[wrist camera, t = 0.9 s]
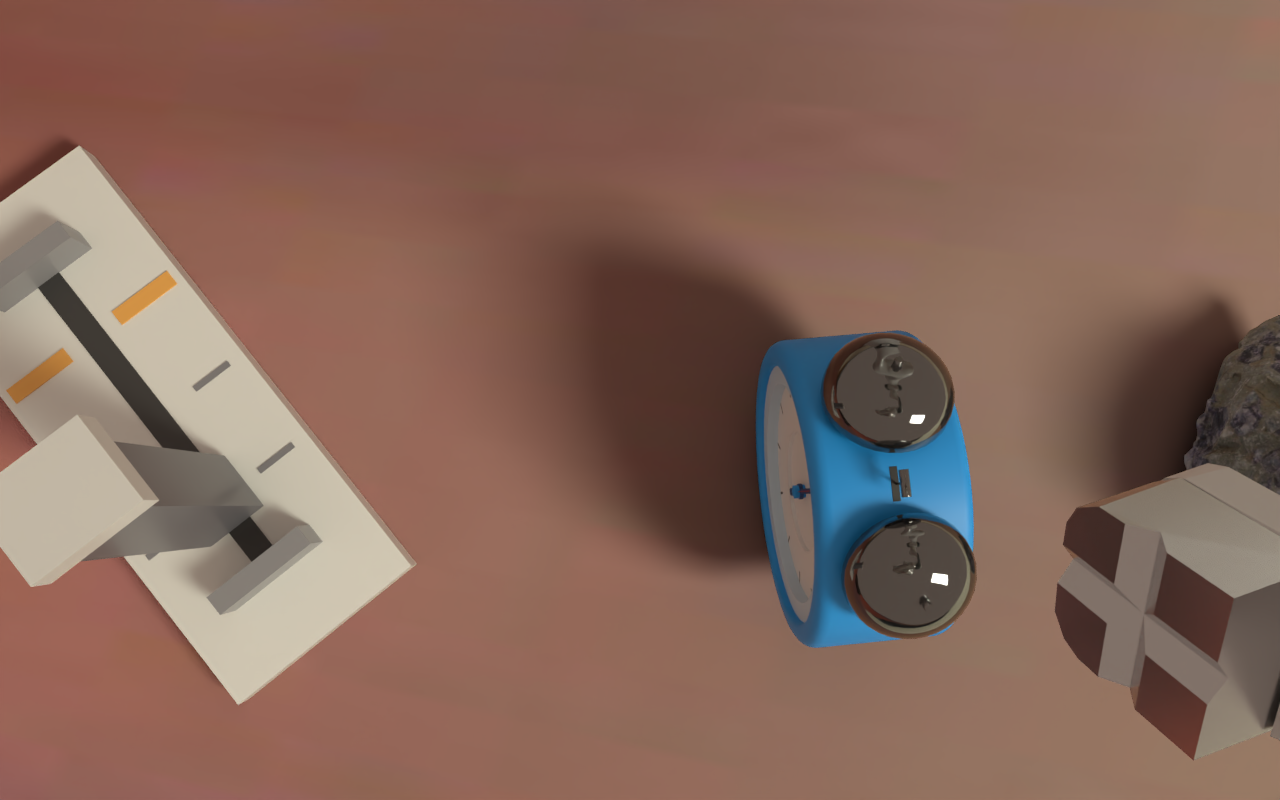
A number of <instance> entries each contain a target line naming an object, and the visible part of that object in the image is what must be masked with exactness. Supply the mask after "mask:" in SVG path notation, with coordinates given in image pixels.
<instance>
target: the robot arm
mask: <svg viewBox="0 0 1280 800" xmlns="http://www.w3.org/2000/svg"><path fill="white" fill-rule="evenodd" d="M1063 545H1064V547H1065V548H1066V549H1067V551H1068V552H1069V554H1070V555H1071V556H1072V558H1073V560H1072V562H1071V563H1070V565H1069V566H1068V568H1067V569H1066V571H1065V572H1064V574H1063V575H1062V577H1061V578H1060V580H1059V581H1058V584H1057V595H1056V606H1055V613H1056V616H1057V619H1058V622H1059V625H1060V628H1061V631H1062V634H1063V637H1064V639H1065V640H1066V642H1067V643H1068V645H1069V646H1070V648H1071V649H1072V651H1073V652H1074V653H1075V655H1076V656H1077V658H1078V659H1079V660H1080V661H1081V662H1083V663H1084V664H1085V665H1086V666H1087V667H1088V668H1089V669H1090V670H1091V671H1092V672H1094V673H1095V674H1096V675H1097V676H1098V677H1101V678H1104V679H1107V680H1109V681H1112V682H1115V683H1118V684H1121V685H1124V686H1127V687H1130V691H1131V695H1132V699H1133V703H1134V708H1135V710H1136V711H1138V712H1139V713H1140V714H1141V715H1142V716H1143V717H1144V718H1146V719H1147V720H1148V721H1149V722H1150V723H1151V724H1152V725H1154V726H1155V727H1156V728H1157V729H1158V730H1159V731H1160V732H1162V733H1163V734H1164V735H1165V736H1166V737H1167V738H1168V739H1170V740H1171V741H1172V742H1173V743H1174V744H1175V745H1176V746H1178V747H1179V748H1180V749H1181V750H1182V751H1183V752H1184V753H1186V754H1187V755H1188V756H1189V757H1190V758H1191V759H1192V760H1196V759H1199V758H1201V757H1204V756H1206V755H1209V754H1212V753H1214V752H1217V751H1219V750H1222V749H1224V748H1227V747H1230V746H1232V745H1235V744H1237V743H1240V742H1243V741H1245V740H1248V739H1250V738H1253V737H1256V736H1258V735H1261V734H1263V733H1266V732H1268V731H1271V730H1272V731H1271V735H1270V736H1271V737H1273V738H1276V739H1278V740H1280V495H1278V494H1277V493H1275V492H1273V491H1271V490H1269V489H1268V488H1266V487H1264V486H1262V485H1260V484H1259V483H1257V482H1255V481H1253V480H1251V479H1249V478H1248V477H1246V476H1244V475H1242V474H1240V473H1239V472H1237V471H1235V470H1233V469H1231V468H1230V467H1226V466H1220V465H1215V464H1210V463H1207V464H1204V465H1201V466H1198V467H1195V468H1192V469H1189V470H1186V471H1183V472H1181V473H1178V474H1175V475H1172V476H1169V477H1166V478H1164V479H1163V480H1161V481H1156V482H1152V483H1149V484H1146V485H1143V486H1140V487H1137V488H1134V489H1131V490H1128V491H1125V492H1122V493H1119V494H1116V495H1113V496H1110V497H1107V498H1104V499H1102V500H1099V501H1096V502H1093V503H1090V504H1087V505H1084V506H1081V507H1078V508H1076V510H1075V511H1074V513H1073V514H1072V516H1071V517H1070V518H1069V520H1068V521H1067V524H1066V530H1065V536H1064V542H1063Z"/></svg>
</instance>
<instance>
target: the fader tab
mask: <svg viewBox="0 0 1280 800" xmlns="http://www.w3.org/2000/svg"><path fill="white" fill-rule="evenodd" d="M263 506H264V505H263V504H262V503H261V501H260V500H259V499H258V498H257V496H256V495H255V494H254V492H253V491H252V490H251V489H250V487H249V486H248V485H247V483H246V482H245V481H244V480H243V478H242V477H241V476H240V475H239V473H238V472H237V471H236V469H235V468H234V467H233V466H232V464H231V463H230V462H229V460H228V459H227V458H226V457H225V456H224V455H216V454H208V453H200V452H193V451H185V450H177V449H169V448H161V447H154V446H146V445H138V444H130V443H123V442H115V441H113V440H112V439H111V437H110V436H109V435H108V433H107V432H106V431H105V430H104V428H103V427H102V426H101V424H100V423H99V422H98V420H97V419H96V418H94V417H88V416H82V415H76V416H75V417H73V418H72V419H71V420H69V421H68V422H67V423H65V424H64V425H63V426H61V427H60V428H59V429H57V430H56V431H55V432H53V433H52V434H51V435H49V436H48V437H47V438H45V439H44V440H43V441H41V442H40V443H39V444H37V445H36V446H35V447H33V448H32V449H31V450H30V451H28V452H27V453H26V454H24V455H23V456H22V457H20V458H19V459H18V460H16V461H15V462H14V463H12V464H11V465H10V466H8V467H7V468H6V469H4V470H3V471H2V472H0V547H1V548H2V550H3V551H4V552H5V554H6V555H7V556H8V557H9V559H10V560H11V561H12V563H13V564H14V565H15V567H16V568H17V569H18V571H19V572H20V573H21V575H22V576H23V577H24V578H25V580H26V581H27V582H28V584H29V585H30V586H31V587H33V586H40V585H46V584H51V583H53V582H54V581H55V580H57V579H58V578H59V577H61V576H62V575H63V574H64V573H66V572H67V571H68V570H70V569H71V568H72V567H73V566H75V565H76V564H77V563H79V562H80V561H88V560H97V559H106V558H115V557H124V556H133V555H142V554H150V553H159V552H168V551H177V550H186V549H195V548H204V547H211V546H213V545H214V544H215V543H217V542H218V541H219V540H220V539H222V538H223V537H224V536H226V535H227V534H228V533H229V532H231V531H232V530H233V529H235V528H236V527H237V526H238V525H240V524H241V523H242V522H243V521H245V520H246V519H247V518H249V517H250V516H251V515H252V514H254V513H255V512H256V511H258V510H259V509H260V508H261V507H263Z"/></svg>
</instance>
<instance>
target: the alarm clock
mask: <svg viewBox="0 0 1280 800" xmlns="http://www.w3.org/2000/svg"><path fill="white" fill-rule="evenodd" d="M954 403H955V391H954V386H953V382H952V378H951V375H950V373H949V371H948V368H947V367H946V365H945V364H944V362H943V361H942V360H941V358H940V357H939V356H938V355H937V354H936V353H935V352H934V351H933V350H932V349H930V348H929V347H928V346H926V345H925V344H923V343H922V342H921V341H920V340H919V339H918V338H917V337H915V336H913V335H912V334H910V333H908V332H904V331H887V332H875V333H863V334H852V335H840V336H828V337H817V338H805V339H793V340H782V341H779V342H776V343H775V344H773V345H772V346H771V347H770V348H769V349H768V351H767V353H766V355H765V357H764V359H763V362H762V365H761V369H760V374H759V380H758V388H757V401H756V453H757V470H758V483H759V493H760V502H761V510H762V518H763V525H764V532H765V538H766V544H767V549H768V555H769V560H770V565H771V569H772V574H773V578H774V582H775V586H776V590H777V593H778V597H779V600H780V604H781V607H782V610H783V612H784V615H785V618H786V620H787V622H788V624H789V626H790V628H791V630H792V632H793V633H794V635H795V636H796V637H797V638H798V640H799V641H800V642H802V643H803V644H805V645H807V646H809V647H814V648H819V647H828V646H838V645H848V644H858V643H868V642H877V641H887V640H897V639H917V638H922V637H927V636H935V635H938V634H941V633H943V632H945V631H946V630H947V629H948V628H949V627H950V626H951V625H952V624H953V623H954V622H955V621H956V620H957V619H958V618H959V617H960V616H961V615H962V613H963V612H964V610H965V609H966V607H967V606H968V604H969V603H970V601H971V598H972V596H973V594H974V591H975V586H976V581H977V572H976V561H975V558H974V554H973V531H974V524H973V502H972V489H971V480H970V472H969V465H968V459H967V453H966V448H965V443H964V438H963V433H962V429H961V425H960V421H959V417H958V414H957V410H956V407H955V404H954Z"/></svg>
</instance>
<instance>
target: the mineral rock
mask: <svg viewBox="0 0 1280 800" xmlns="http://www.w3.org/2000/svg"><path fill="white" fill-rule="evenodd" d="M1196 427H1197V438H1196V441H1195V442H1194V444H1193V448H1192V449H1191V450H1190V451H1189V452H1188V453H1186V454H1185V455H1184V463H1185V466H1186V470H1189V469H1192V468H1195V467H1198V466H1201V465H1204V464H1207V463H1210V464H1215V465H1220V466H1226V467H1230V468H1231V469H1233V470H1235V471H1237V472H1239V473H1240V474H1242V475H1244V476H1246V477H1248V478H1249V479H1251V480H1253V481H1255V482H1257V483H1259V484H1260V485H1262V486H1264V487H1266V488H1268V489H1269V490H1271V491H1273V492H1275V493H1277V494H1278V495H1280V315H1278V316H1276V317H1274V318H1271V319H1269V320H1267V321H1265V322H1263V323H1262V324H1260V325H1259V326H1258V327H1256V328H1254V329H1252V330H1250V331H1249V332H1248V334H1247V335H1246V336H1245V337H1244V338H1243V339H1242V340H1241V341H1240V342H1239V344H1238V349H1237V350H1235V351H1233V352H1231V353H1230V354H1229V355H1227V356H1226V357H1225V359H1224V361H1223V363H1222V366H1221V368H1220V371H1219V375H1218V378H1217V382H1216V385H1215V388H1214V392H1213V394H1212V396H1211V398H1210V399H1208V400H1207V404H1206V409H1205V412H1204V414H1202V415H1200V416H1199V418H1198V420H1197V422H1196Z"/></svg>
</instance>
